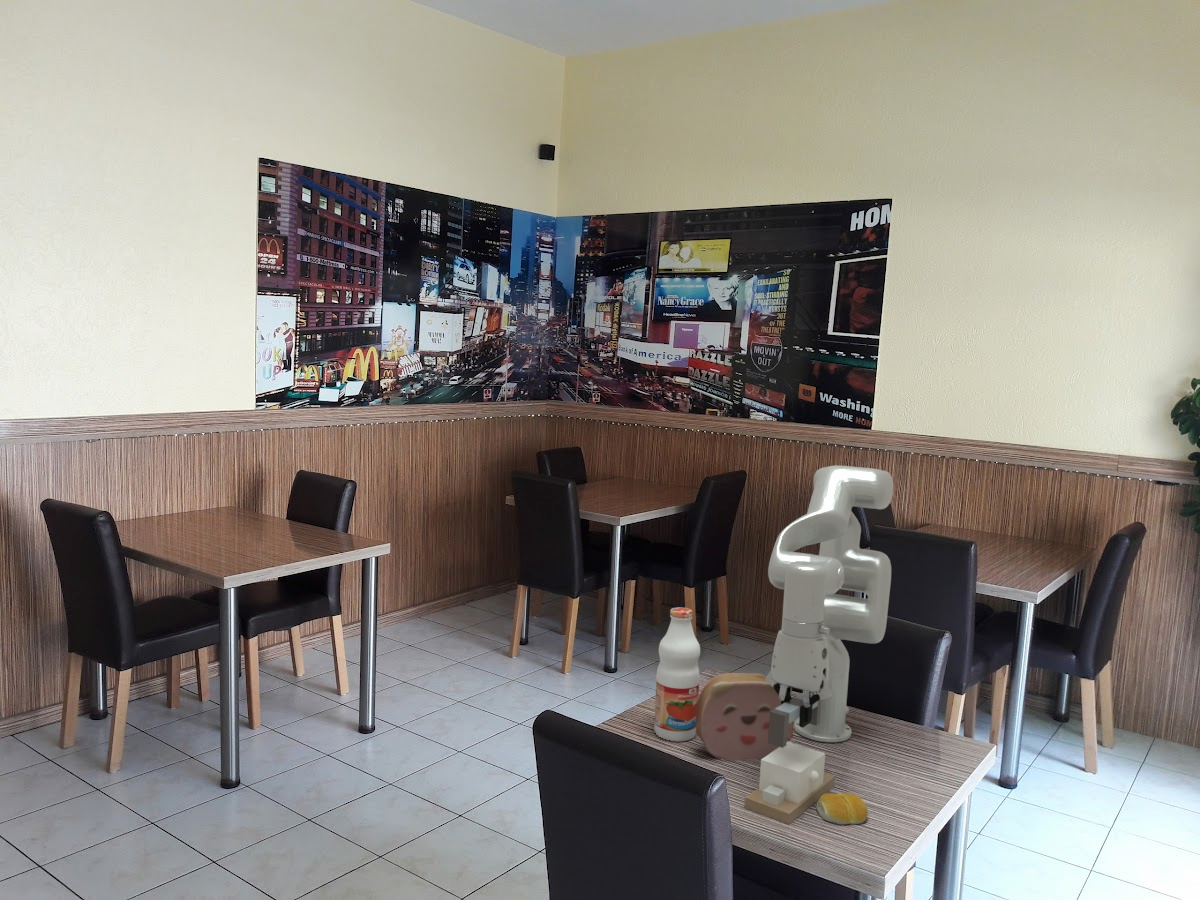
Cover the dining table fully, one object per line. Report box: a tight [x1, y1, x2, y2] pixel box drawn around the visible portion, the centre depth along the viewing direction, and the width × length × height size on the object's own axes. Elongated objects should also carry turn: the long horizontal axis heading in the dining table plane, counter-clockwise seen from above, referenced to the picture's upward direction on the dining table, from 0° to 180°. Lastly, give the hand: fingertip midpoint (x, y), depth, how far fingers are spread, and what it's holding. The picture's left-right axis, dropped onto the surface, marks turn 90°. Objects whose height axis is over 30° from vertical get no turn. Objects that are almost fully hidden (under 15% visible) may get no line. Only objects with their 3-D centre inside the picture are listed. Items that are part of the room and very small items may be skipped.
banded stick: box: [768, 692, 821, 748], centre depth 176 cm, size 16×3×6 cm, turn 142°
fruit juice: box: [653, 606, 701, 742], centre depth 203 cm, size 9×9×28 cm
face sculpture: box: [696, 672, 795, 761], centre depth 195 cm, size 20×7×17 cm, turn 96°
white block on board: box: [744, 741, 836, 825], centre depth 177 cm, size 20×10×8 cm, turn 142°
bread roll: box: [816, 792, 869, 825], centre depth 172 cm, size 8×9×4 cm
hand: (795, 721), depth 176 cm, fingers closed on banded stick, 3 cm apart
